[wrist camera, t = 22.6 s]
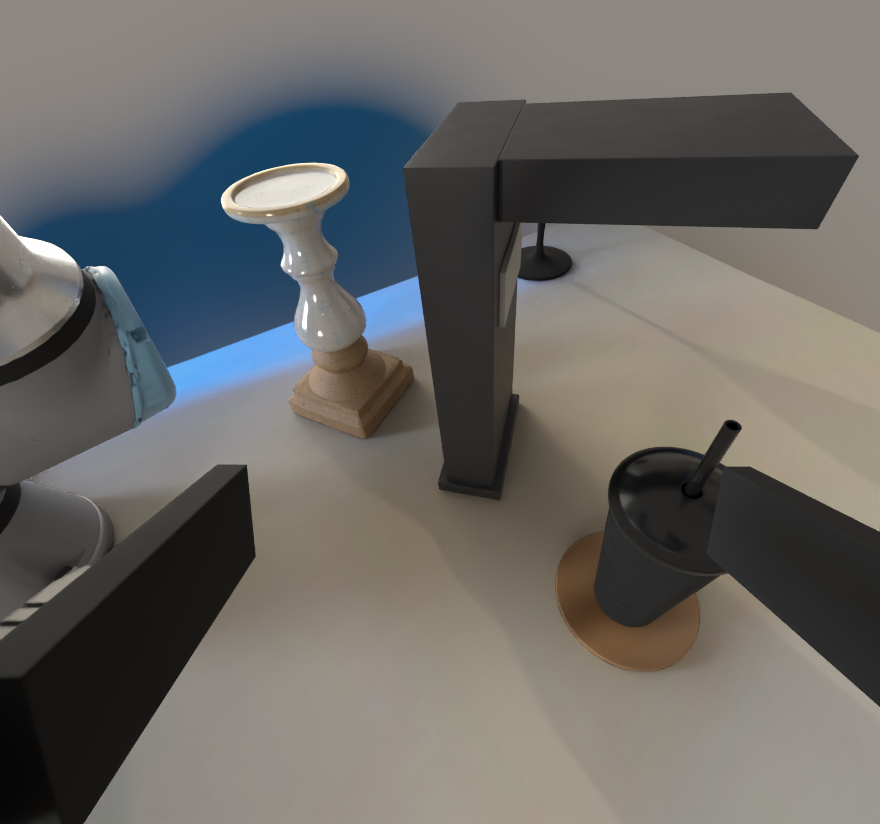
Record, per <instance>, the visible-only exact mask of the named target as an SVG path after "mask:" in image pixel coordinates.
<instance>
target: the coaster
mask: <svg viewBox="0 0 880 824" xmlns="http://www.w3.org/2000/svg"><path fill="white" fill-rule="evenodd" d="M603 537H604V532H598V533H593V534H590V535H587V536H585V537H583V538H581V539H579V540H578V541H577V542H575V543H574V544H573V545H572V546H571V547H570V548H569V549H568V550H567V551H566V553H565V554H564V555H563V557H562V559H561V561H560V564H559V567H558V570H557V575H556V583H555V589H556V598H557V602H558V606H559V609H560V612H561V614H562V616H563V619H564V621H565V623H566V624H567V626H568V627H569V629H570V631H571V632H572V633H573V635H574V636H575V637H576V638H577V640H578V641H579V642H580V643H581V644H582V645H583V646H584V647H585V648H587V649H588V650H589V651H590V652H591V653H593V654H594V655H596V656H597V657H599V658H600V659H602V660H604V661H606V662H608V663H610V664H612V665H614V666H617V667H620V668H623V669H627V670H631V671H641V672H645V671H655V670H660V669H663V668H666V667H668V666H671V665H672V664H674V663H676V662H677V661H679V660H680V659H681V658H682V657H683V656H684V655H685V654H687V652H688V651H689V650H690V648H691V647H692V645H693V643H694V641H695V639H696V636H697V633H698V629H699V622H700V614H699V606H698V601H697V598H696V594H695V593H694V594H692V595H691V596H689V597H688V598H687V599H685V600H684V601H682V602H681V603H679V604H678V605H676V606H675V607H673V608H672V609H670V610H669V611H668V612H666V613H665V614H663V615H662V616H660V617H659V618H657V619H656V620H654V621H653V622H651V623H650V624H648V625H646V626H643V627H628V626H624V625H621V624H619V623H617V622H615V621H614V620H612V619H611V618H610V617H608V616H607V615H606V614H605V613H604V611H603V610H602V609H601V607H600V606H599V604H598V602H597V600H596V597H595V593H594V582H595V577H596V572H597V567H598V562H599V557H600V552H601V547H602V542H603Z"/></svg>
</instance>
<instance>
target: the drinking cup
mask: <svg viewBox="0 0 880 824" xmlns="http://www.w3.org/2000/svg"><path fill="white" fill-rule="evenodd" d="M741 429H742V427H741V425H740V424H739V423H738V422H736V421H733V420H727V421H725V422H724V424H723V425H722V427H721V429H720V430H719V432H718V434H717V435H716V437H715V439H714V440H713V442H712V444H711V445H710V447H709V448H708V450H707V452H706V453H705V455H703V454H700V453H697V452H694V451H691V450H687V449H682V448H675V447H654V448H648V449H644V450H641V451H638V452H636V453H634V454H632V455H630V456H628V457H627V458H625V459H624V460H623V461H622V462H621V463H620V464H619V465H618V466H617V468H616V469H615V471H614V472H613V474H612V477H611V480H610V483H609V487H608V501H609V506H610V507H609V512H608V517H607V522H606V527H605V532H604V537H603V542H602V547H601V552H600V557H599V562H598V567H597V572H596V577H595V582H594V593H595V597H596V600H597V602H598V604H599V606H600V607H601V609H602V610H603V611H604V613H605V614H606V615H607V616H608V617H610V618H611V619H612V620H614V621H615V622H617V623H619V624H621V625H624V626H628V627H643V626H646V625H648V624H650V623H651V622H653V621H654V620H656V619H657V618H659V617H660V616H662V615H663V614H665V613H666V612H668V611H669V610H670V609H672V608H673V607H675V606H676V605H678V604H679V603H681V602H682V601H684V600H685V599H687V598H688V597H689V596H691V595H692V594H694V593H695V592H697V591H698V590H700V589H701V588H703V587H704V586H706V585H707V584H708V583H710V582H711V581H713V580H714V579H716V578H717V577H719V576H720V575H724V574H728V572H727V571H725V570H724V569H723V568H722V567H721V566H720V565H719V564H718V563H716V562H715V561H714V560H713V559H712V558H711V557H710V556H708V555H707V554H706V553H707V548H708V543H709V538H710V533H711V528H712V523H713V518H714V513H715V508H716V503H717V498H718V493H719V488H720V483H721V478H722V473H723V468H724V467H726V466H724V465H723V464H721V463H720V461H721V459H722V458H723V456H724V455H725V453H726V452H727V450H728V449H729V447H730V446H731V444H732V443H733V441H734V440H735V438H736V437H737V435H738V434H739V432H740V431H741Z"/></svg>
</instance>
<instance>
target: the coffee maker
mask: <svg viewBox="0 0 880 824" xmlns="http://www.w3.org/2000/svg"><path fill="white" fill-rule="evenodd" d="M858 157H859V156H858V155H857V154H856V153H855V152H854V151H853V150H852V149H851V148H850V147H849V146H848V145H847V144H846V143H844V142H843V141H842V140H841V139H840V138H839V137H838V136H837V135H836V134H835V133H834V132H833V131H832V130H830V128H828V127H827V126H826V125H825V124H824V123H823V122H822V121H821V120H820V119H819V118H818V117H817V116H816V115H814V114H813V113H812V112H811V111H810V110H809V109H808V108H807V107H806V106H805V105H804V104H803V103H802V102H800V101H799V100H798V99H797V98H796V97H795V96H794V95H793V94H792V93H771V94H747V95H724V96H723V95H722V96H699V97H675V98H653V99H652V98H651V99H628V100H605V101H604V100H603V101H579V102H559V103H558V102H555V103H532V104H526V100H508V101H484V102H461V103H457V105H456V106H455V107H454V108H453V109H452V111H451V112H450V113H449V114H448V116H446V118H445V119H444V120H443V121H442V123H441V124H440V125H439V126H438V127H437V128H436V130H435V131H434V132H433V133H432V135H431V136H430V137H429V138H428V139H427V140H426V142H425V143H424V144H423V145H422V147H421V148H420V149H419V150H418V151H417V152H416V154H415V155H414V156H413V157H412V158H411V159H410V161H409V162H408V163H407V164H406V166H405V167H404V168H403V172H404V180H405V187H406V194H407V201H408V208H409V215H410V222H411V228H412V236H413V243H414V250H415V258H416V265H417V272H418V279H419V286H420V293H421V300H422V307H423V314H424V321H425V328H426V335H427V343H428V350H429V357H430V364H431V371H432V378H433V385H434V392H435V399H436V406H437V413H438V421H439V428H440V435H441V442H442V449H443V456H444V465H443V468H442V471H441V475H440V478H439V481H438V485H439V489H441V490H446V491H452V492H458V493H463V494H469V495H475V496H480V497H486V498H492V499H498V500H500V499H501V494H502V488H503V483H504V478H505V472H506V467H507V462H508V456H509V451H510V446H511V440H512V435H513V430H514V424H515V419H516V414H517V409H518V403H519V395H517V394H512V383H513V362H514V341H515V320H516V299H517V277H518V273H519V270H520V263H521V244H522V224H523V223H525V222H526V223H567V224H611V225H658V226H699V227H703V226H704V227H743V228H745V227H746V228H788V229H791V228H792V229H818V228H819V226H820V224H821V222H822V220H823V219H824V217H825V215H826V213H827V212H828V210H829V208H830V206H831V205H832V203H833V201H834V199H835V198H836V196H837V194H838V192H839V190H840V189H841V187H842V185H843V183H844V182H845V180H846V178H847V176H848V174H849V173H850V171H851V169H852V168H853V166H854V164H855V162H856V160H857V159H858Z"/></svg>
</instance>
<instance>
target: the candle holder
mask: <svg viewBox="0 0 880 824" xmlns="http://www.w3.org/2000/svg"><path fill="white" fill-rule="evenodd" d="M348 189H349V179H348V176H347V174H346V172H345V171H344V170H342V169H341V168H339V167H337V166H334V165H330V164H323V163H302V164H293V165H286V166H281V167H277V168H272V169H268V170H265V171H261V172H258V173H255V174H253V175H250V176H248V177H246V178H244V179H241V180H240V181H238V182H236V183H235V184H233V185H232V186H230V187H229V188H228V189H227V190H226V191H225V192H224V194H223V196H222V199H221V203H222V206H223V208H224V210H225V212H226V213H227V214H228V215H229V216H230V217H231V218H233V219H235V220H237V221H241V222H245V223H251V224H265V225H266V226H267V227H268V228H270V229H272V230H273V231H275V232H276V233H277V234H278V235H279V237H280V238H281V240H282V242H283V245H284V254H283V258H282V261H281V267H282V269H283V271H284V272H285V273H287V274H289V275H291V277H292V278H293V279H294V280H296V281H297V282H298V284H299V285H300V299H299V302H298V306H297V309H296V313H295V318H294V327H295V332H296V335H297V337H298V338H299V340H300V341H301V342H302V343H303V344H304V345H305V346H307V347H309V348H310V349H312V358H313V361H314V362H315V365H314V367H313V368H312V369H311V370H310V371H309V372H308V373H307V374H306V375H305V376H304V377H303V378H302V379H301V380H300V381H299V382H298V384H297V385H296V386H295V388H294V390H293V392H294V394H293V396H292V397H291V398H290V399H289V401H288V402H289V404H290V406H291V408H292V410H293V412H294V413H296V414H298V415H301V416H303V417H305V418H308V419H311V420H313V421H316V422H319V423H321V424H324V425H326V426H329V427H332V428H334V429H337V430H340V431H342V432H345V433H348V434H350V435H353V436H356V437H359V438H362V439H366V438H368V437H369V436H370V435H371V434H372V433H373V432H374V430H375V429H376V428H377V427H378V425H379V424H380V423H381V422H382V420H383V419H384V418H385V416H386V415H387V414H388V413H389V411H390V410H391V409H392V407H393V406H394V405H395V403H396V402H397V401H398V400H399V398H400V397H401V396H402V394H403V393H404V392H405V391H406V389H407V388H408V387H409V385H410V384H411V382H412V381H413V379H414V375H413V370H412V367H411V366H409V365H406V364H403V363H402V361H401V360H399V359H398V358H396V357H393V356H391V355H387V354H384V353H381V352H378V351H374V350H371V349H368V344H367V341H366V339H365V338H364V337H363V335H362V334H363V332H364V330H365V327H366V315H365V312H364V310H363V308H362V306H361V304H360V303H359V302H358V301H357V300H356V299H355V298H354V297H353V296H352V295H351V294H350V293H348V292H347V291H346V290H344V289H343V288H342V287H341V286H340V285H339V284H338V283H337V281H336V280H335V278H334V269H335V263H336V262H337V260H338V252H337V250H336V249H335V248H334V247H332V246H331V245H330V244H328V242H327V241H326V240H325V238H324V237H323V235H322V231H321V221H322V219H323V217H324V214H325V210H326V209H328V208H329V207H331V206H333V205H334V204H336V203H338V202H339V201H340V200H342V198H343V197H344V196H345V195H346V193H347V192H348Z"/></svg>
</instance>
